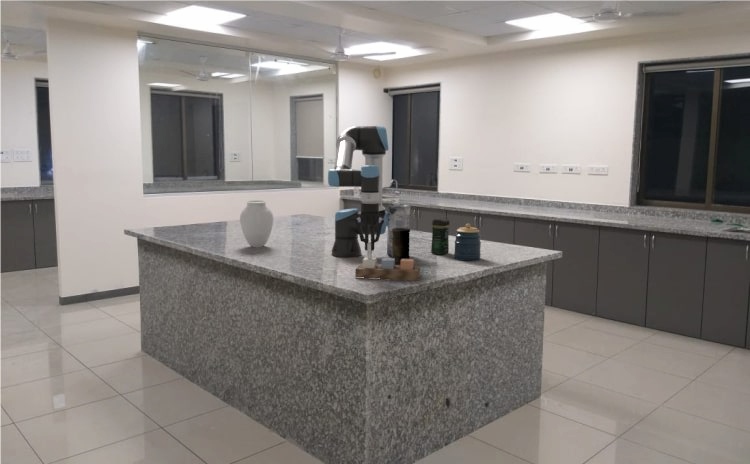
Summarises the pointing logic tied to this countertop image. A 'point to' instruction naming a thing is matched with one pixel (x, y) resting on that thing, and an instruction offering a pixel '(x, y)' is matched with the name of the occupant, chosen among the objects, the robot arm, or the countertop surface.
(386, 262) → the slate key
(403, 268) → the terracotta key
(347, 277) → the countertop surface
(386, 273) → the key panel
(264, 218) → the vase
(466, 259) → the canister
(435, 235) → the coffee jar
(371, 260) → the ivory key
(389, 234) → the juice carton
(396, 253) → the container
